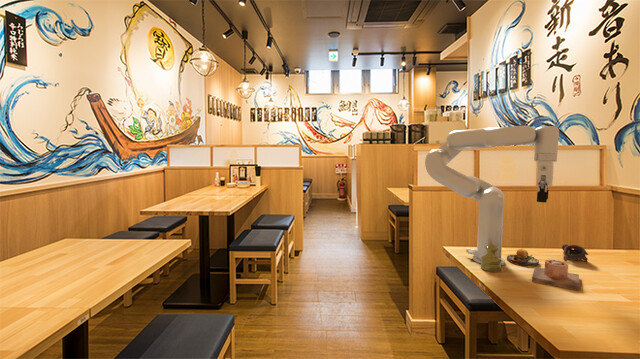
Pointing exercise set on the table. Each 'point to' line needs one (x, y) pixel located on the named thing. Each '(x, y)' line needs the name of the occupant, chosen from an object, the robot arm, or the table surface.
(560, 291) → the table surface
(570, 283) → the post stand
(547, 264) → the ring
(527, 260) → the burger
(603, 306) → the table surface
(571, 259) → the pottery mug
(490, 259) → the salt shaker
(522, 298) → the table surface
